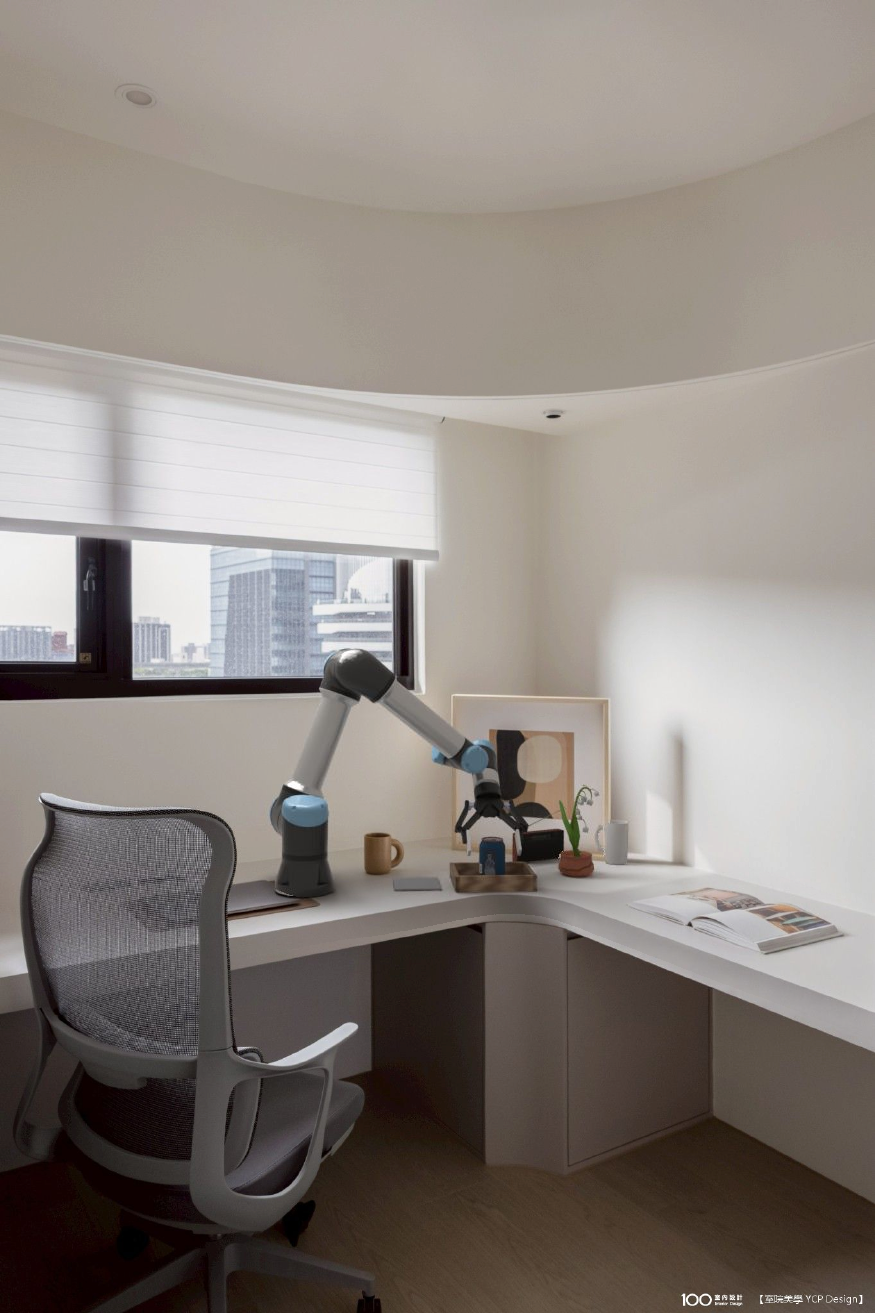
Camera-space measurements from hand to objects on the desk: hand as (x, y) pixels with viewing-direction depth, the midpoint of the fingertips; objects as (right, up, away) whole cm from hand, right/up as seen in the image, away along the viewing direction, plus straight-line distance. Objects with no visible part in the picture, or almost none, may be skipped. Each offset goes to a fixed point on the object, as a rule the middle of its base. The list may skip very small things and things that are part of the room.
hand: (494, 853), depth 243 cm
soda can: (-1, -8, -2) cm, 8 cm away
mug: (+36, -8, +25) cm, 45 cm away
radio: (+16, -8, +27) cm, 33 cm away
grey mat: (-21, -8, -4) cm, 22 cm away
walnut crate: (-1, -8, -2) cm, 8 cm away
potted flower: (+24, -8, +10) cm, 27 cm away
